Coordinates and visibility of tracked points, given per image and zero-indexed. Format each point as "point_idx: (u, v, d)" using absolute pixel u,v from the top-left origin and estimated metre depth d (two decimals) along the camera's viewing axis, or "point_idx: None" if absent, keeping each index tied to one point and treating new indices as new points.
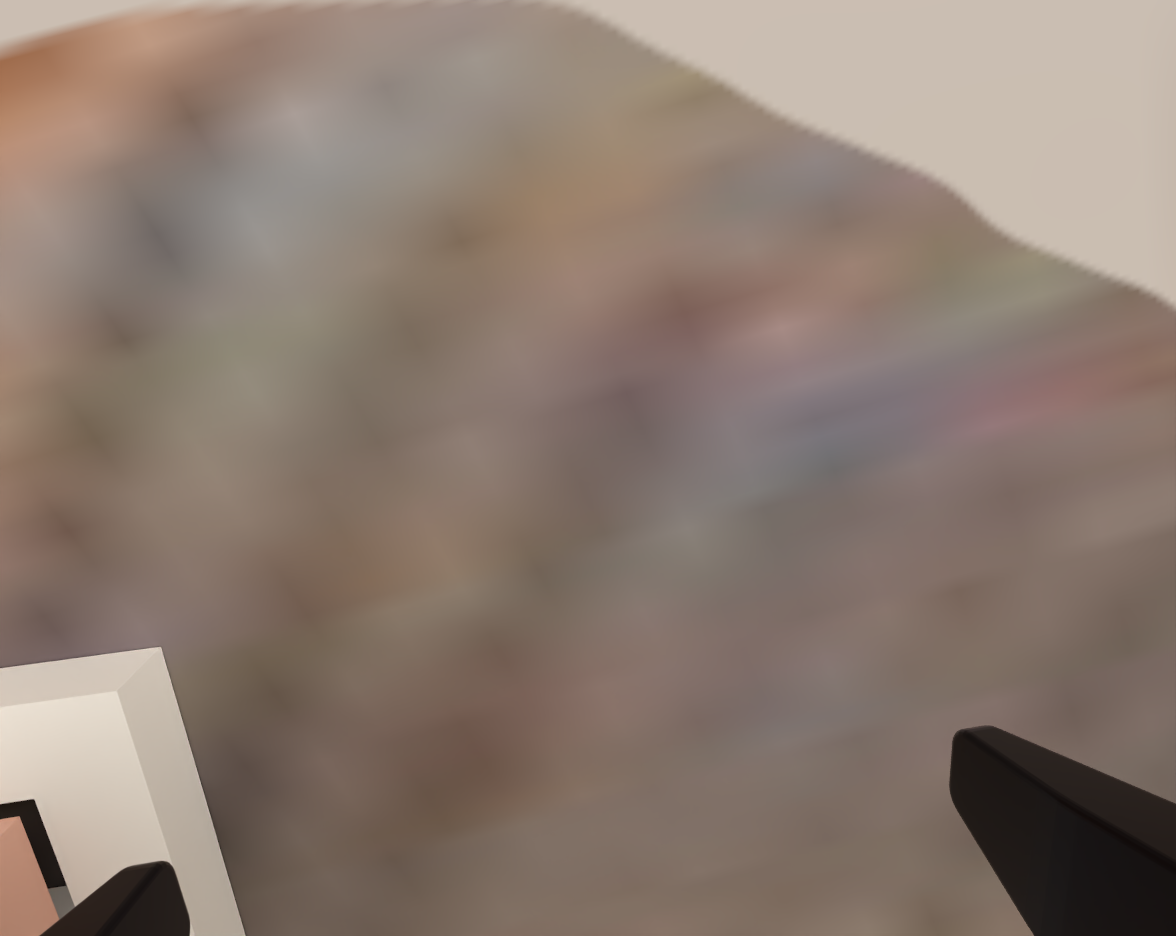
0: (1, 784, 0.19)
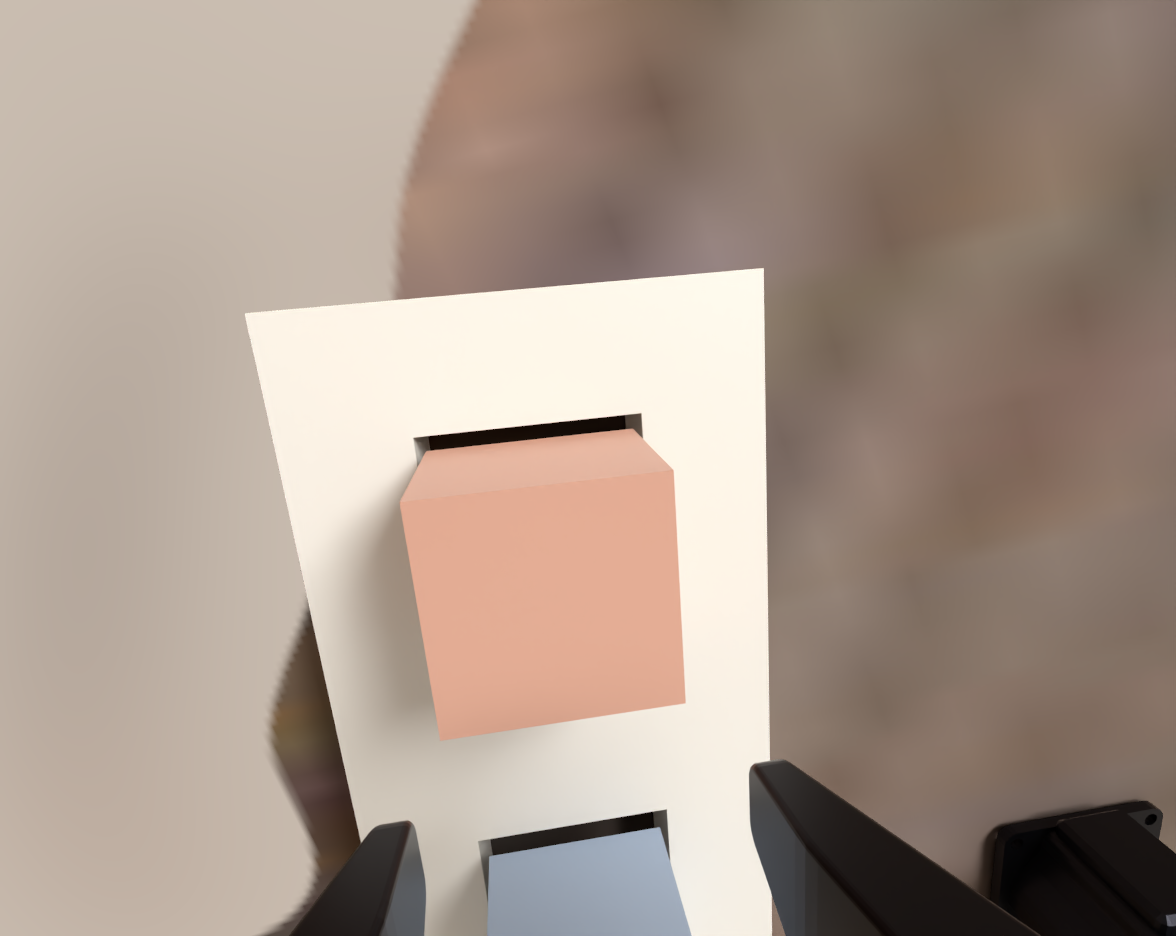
0: (609, 390, 0.16)
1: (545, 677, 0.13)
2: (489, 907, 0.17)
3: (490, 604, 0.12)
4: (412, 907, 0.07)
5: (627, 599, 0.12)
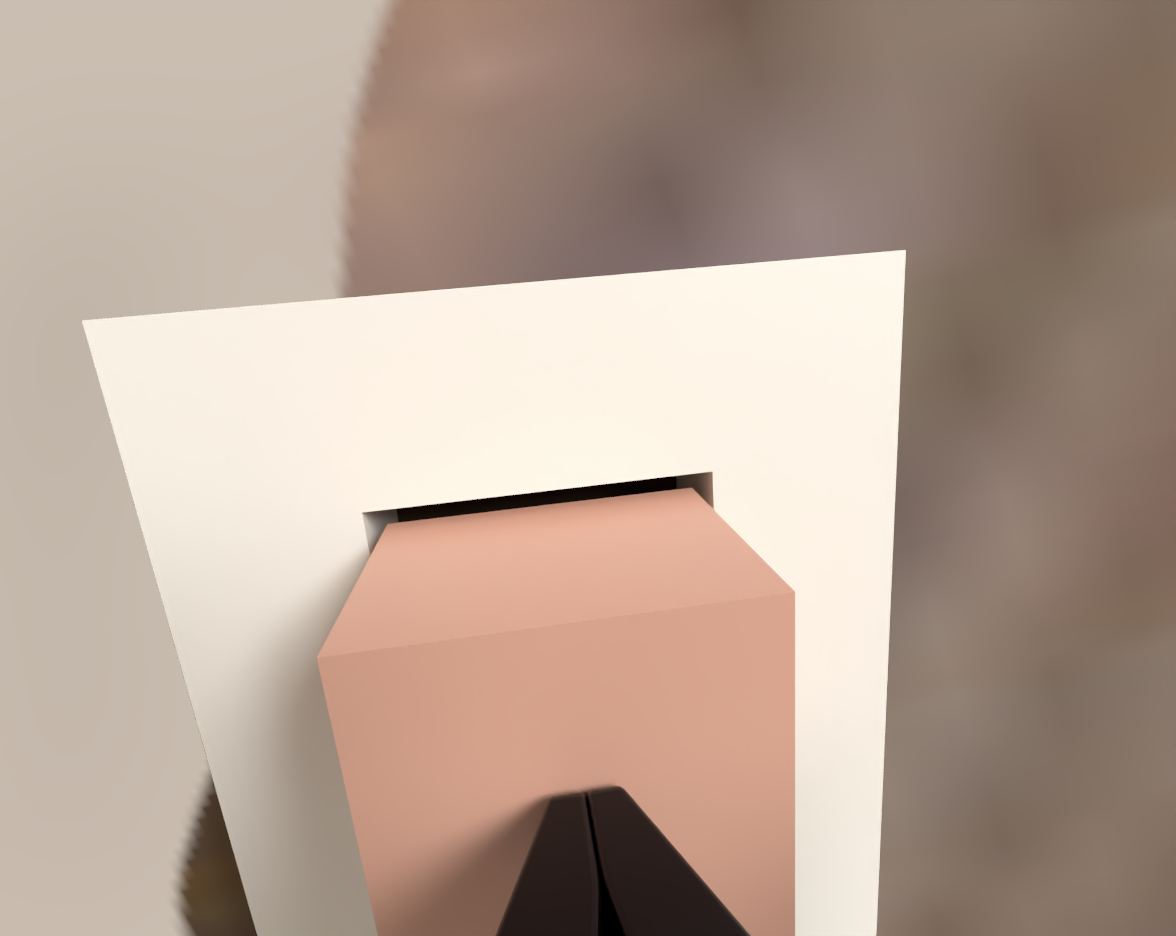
0: (665, 438, 0.10)
1: None
2: None
3: (479, 817, 0.07)
4: None
5: (708, 799, 0.07)
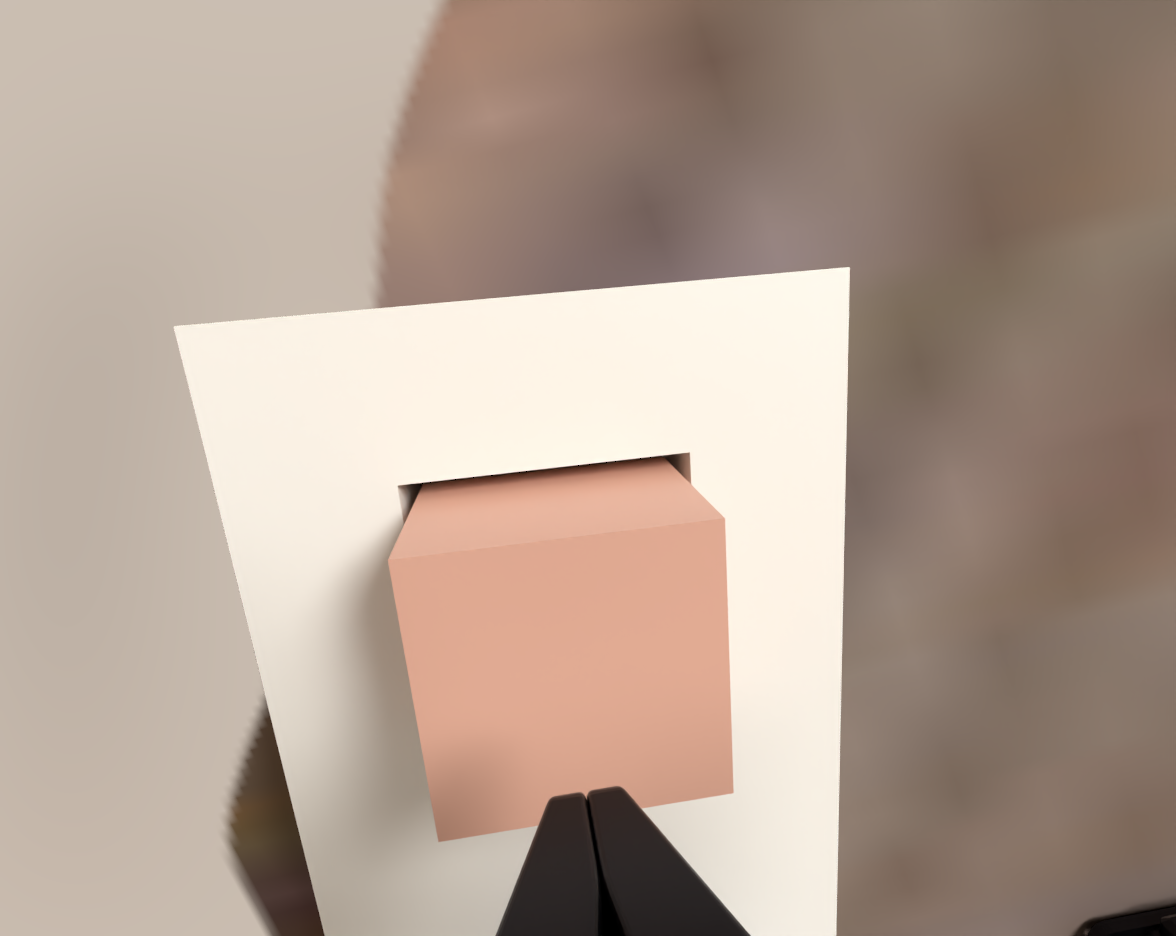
0: (649, 424, 0.12)
1: (565, 765, 0.10)
2: None
3: (500, 681, 0.10)
4: None
5: (665, 673, 0.10)
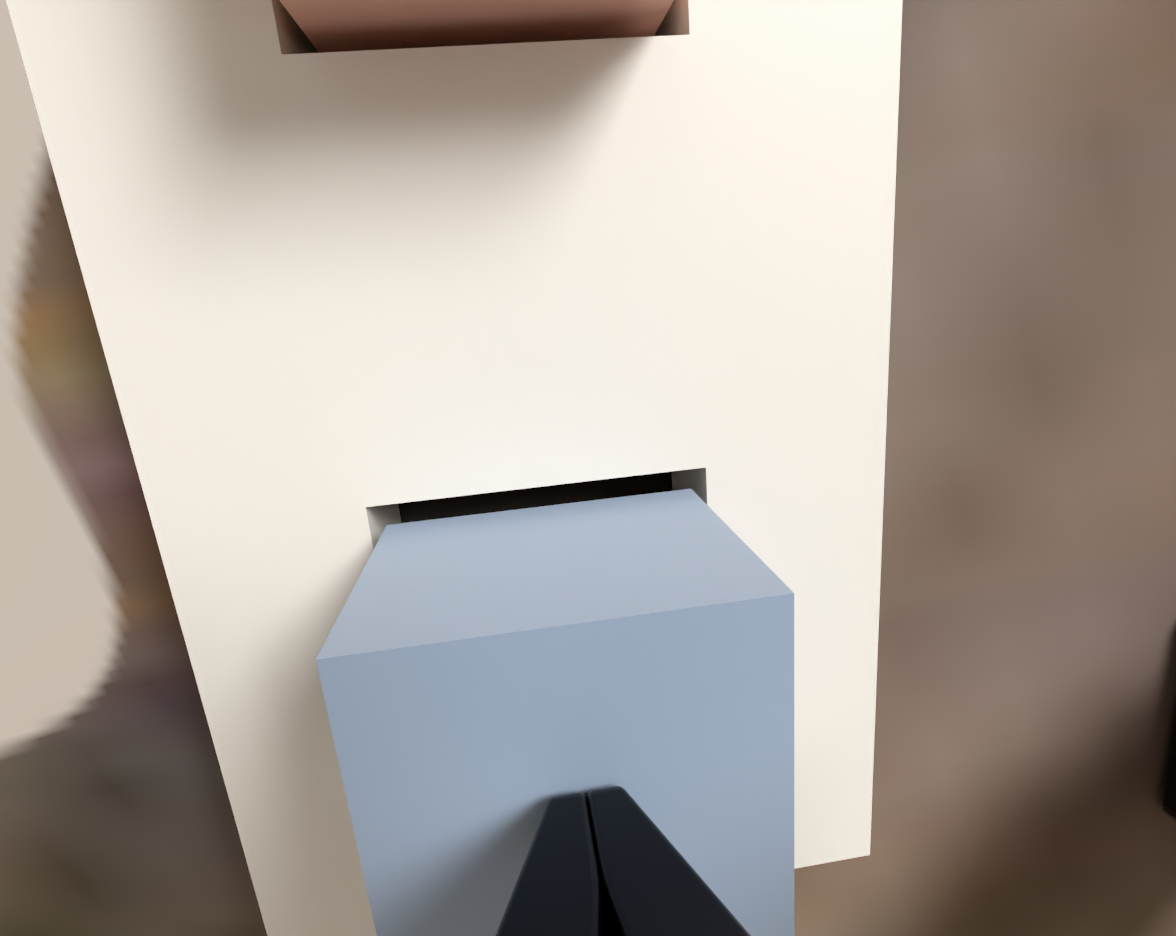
0: None
1: None
2: (368, 564, 0.09)
3: None
4: None
5: None
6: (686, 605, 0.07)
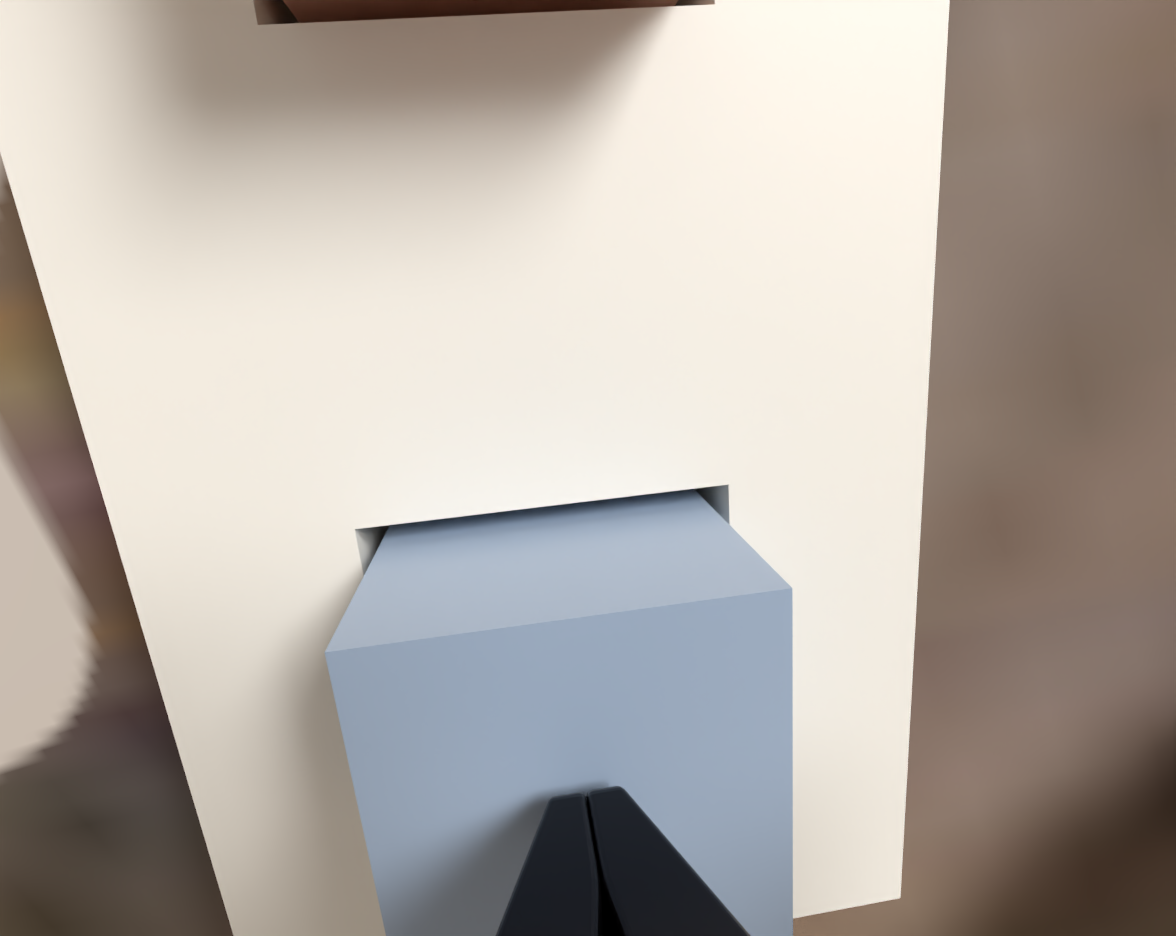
0: None
1: None
2: (374, 560, 0.09)
3: None
4: None
5: None
6: (687, 600, 0.07)
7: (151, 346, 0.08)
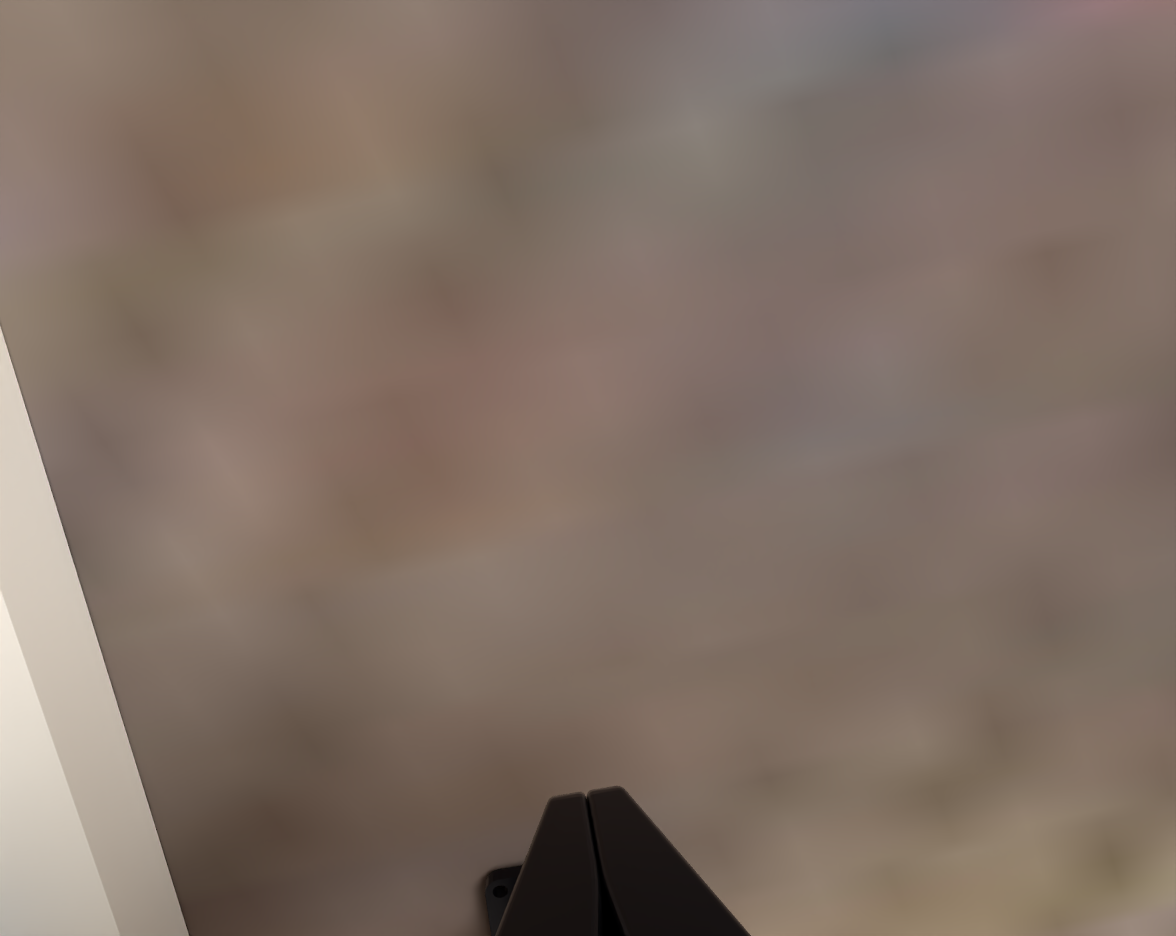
0: None
1: None
2: None
3: None
4: None
5: None
6: None
7: None
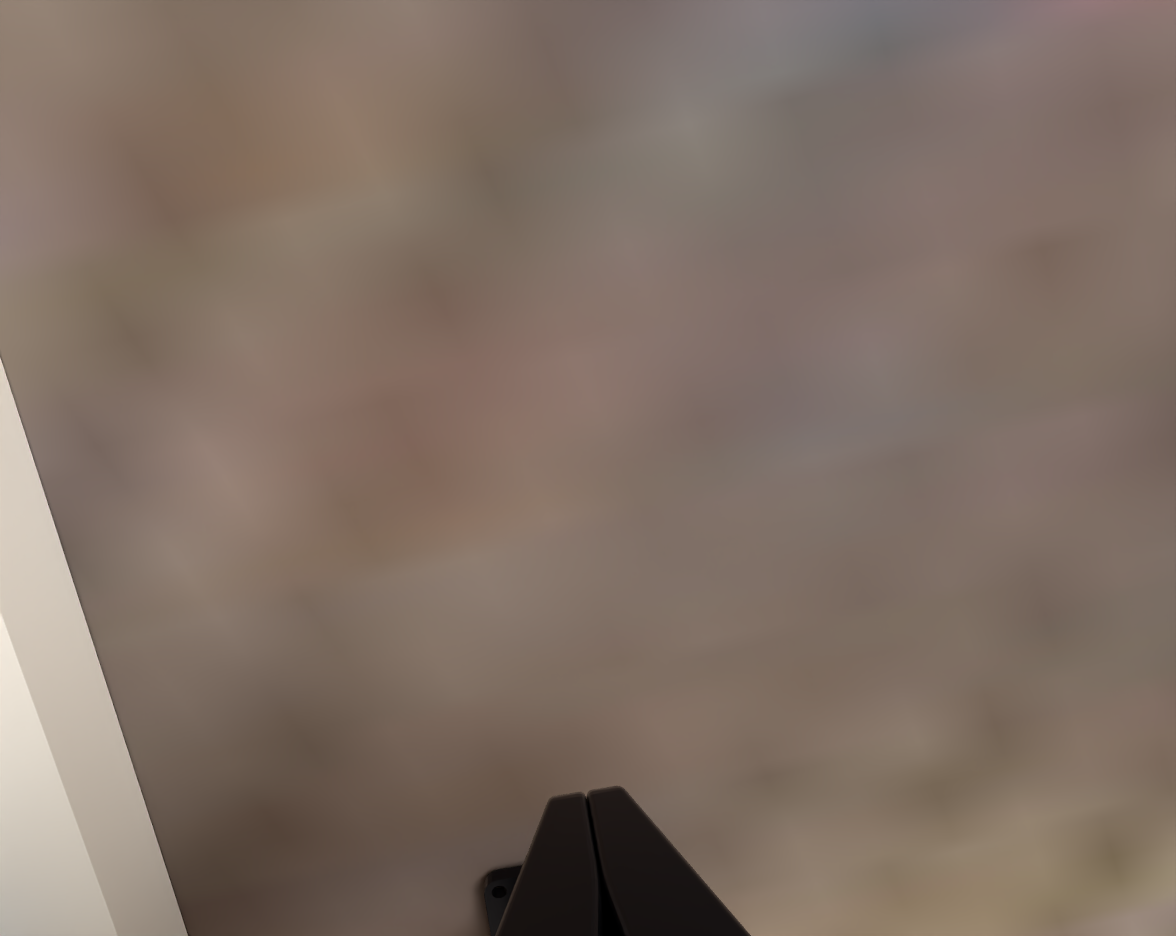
0: None
1: None
2: None
3: None
4: None
5: None
6: None
7: None
